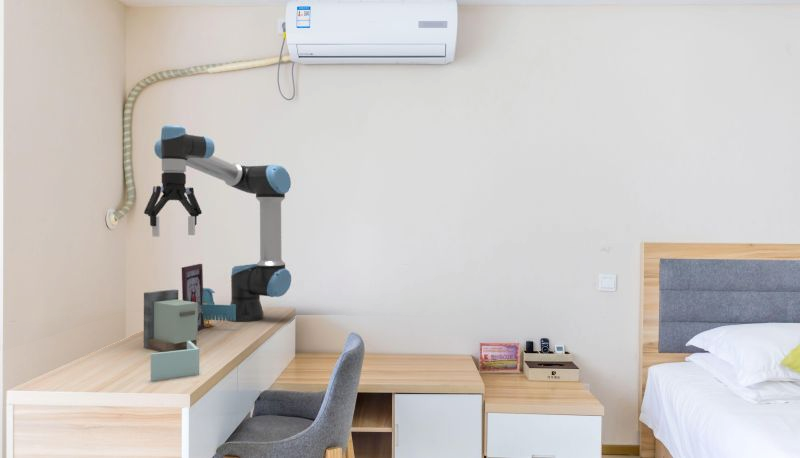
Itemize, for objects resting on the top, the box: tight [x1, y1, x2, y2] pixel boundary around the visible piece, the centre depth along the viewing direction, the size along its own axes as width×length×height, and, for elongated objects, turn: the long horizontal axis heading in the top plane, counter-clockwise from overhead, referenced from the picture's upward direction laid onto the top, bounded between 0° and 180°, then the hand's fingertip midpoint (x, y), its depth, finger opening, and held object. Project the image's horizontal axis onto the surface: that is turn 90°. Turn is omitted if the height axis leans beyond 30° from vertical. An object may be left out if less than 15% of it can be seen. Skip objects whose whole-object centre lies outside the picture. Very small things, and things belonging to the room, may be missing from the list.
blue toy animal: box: [200, 287, 236, 328], centre depth 216 cm, size 28×9×15 cm, turn 86°
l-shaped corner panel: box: [150, 341, 200, 382], centre depth 152 cm, size 12×12×8 cm
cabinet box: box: [154, 299, 199, 344], centre depth 181 cm, size 8×13×12 cm, turn 55°
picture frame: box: [181, 263, 205, 332], centre depth 206 cm, size 17×10×25 cm, turn 179°
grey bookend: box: [143, 289, 197, 353], centre depth 182 cm, size 11×12×18 cm
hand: (174, 235), depth 186 cm, fingers open, 13 cm apart
